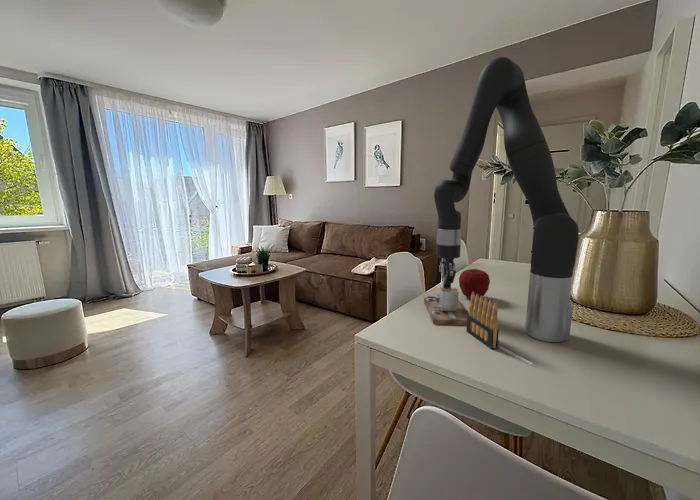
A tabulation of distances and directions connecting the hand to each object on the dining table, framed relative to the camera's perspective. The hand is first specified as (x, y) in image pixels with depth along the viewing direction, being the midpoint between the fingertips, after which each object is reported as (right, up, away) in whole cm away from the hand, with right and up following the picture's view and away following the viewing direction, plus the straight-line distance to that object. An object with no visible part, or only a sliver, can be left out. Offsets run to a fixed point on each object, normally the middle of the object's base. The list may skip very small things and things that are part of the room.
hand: (446, 293), depth 97 cm
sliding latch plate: (0, -6, -1) cm, 6 cm away
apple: (+14, -4, +13) cm, 19 cm away
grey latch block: (-2, -4, -3) cm, 6 cm away
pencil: (+6, -11, -26) cm, 29 cm away
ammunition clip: (+3, -10, -20) cm, 22 cm away
